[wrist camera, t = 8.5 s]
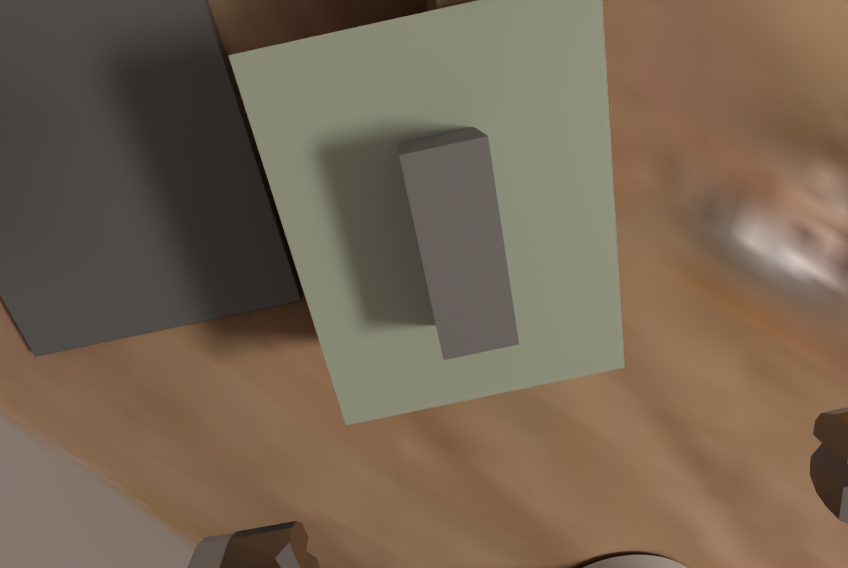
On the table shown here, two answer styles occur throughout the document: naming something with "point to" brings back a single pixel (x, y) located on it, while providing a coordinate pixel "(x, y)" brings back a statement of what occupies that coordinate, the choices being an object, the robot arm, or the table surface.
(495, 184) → the lid
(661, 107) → the table surface
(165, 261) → the rubber mat
